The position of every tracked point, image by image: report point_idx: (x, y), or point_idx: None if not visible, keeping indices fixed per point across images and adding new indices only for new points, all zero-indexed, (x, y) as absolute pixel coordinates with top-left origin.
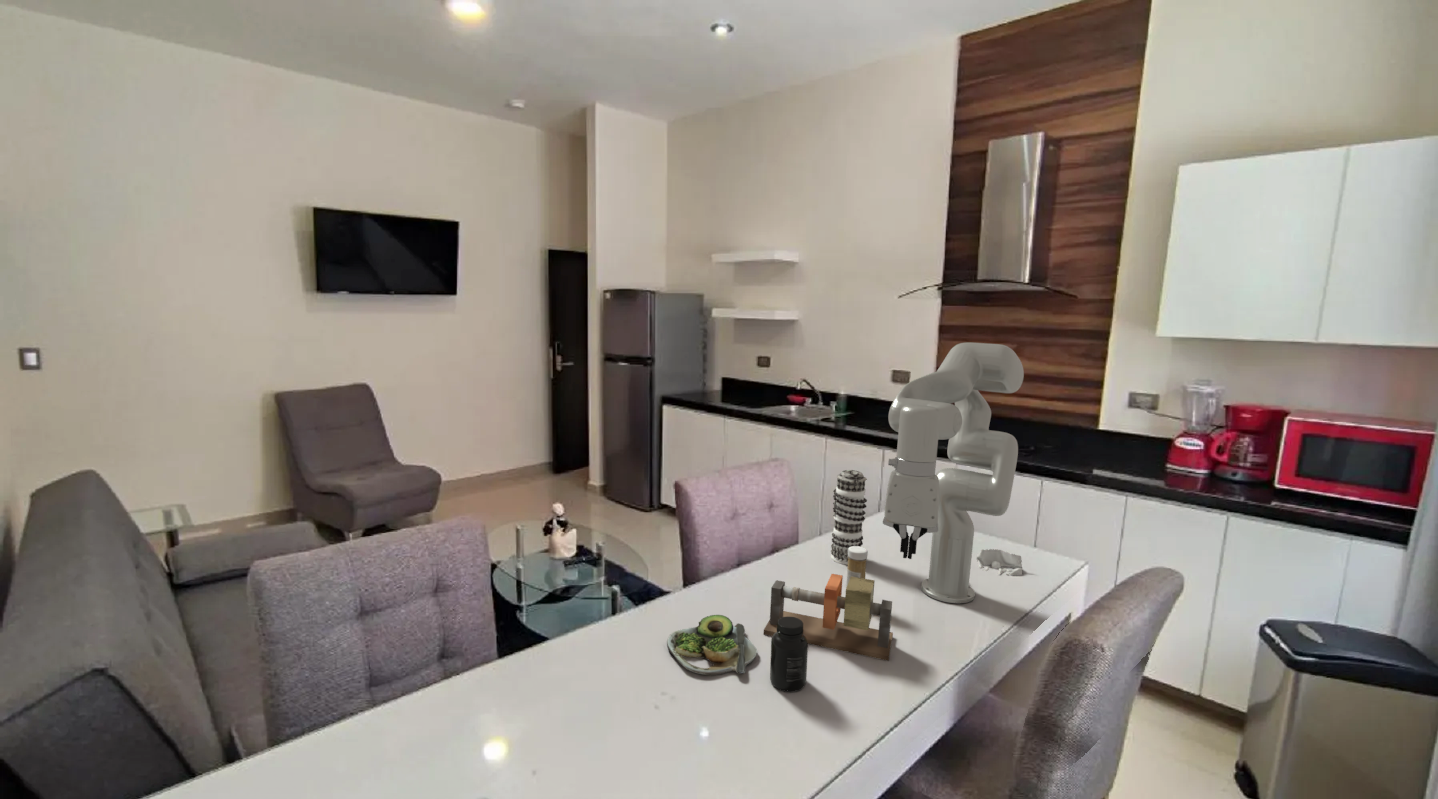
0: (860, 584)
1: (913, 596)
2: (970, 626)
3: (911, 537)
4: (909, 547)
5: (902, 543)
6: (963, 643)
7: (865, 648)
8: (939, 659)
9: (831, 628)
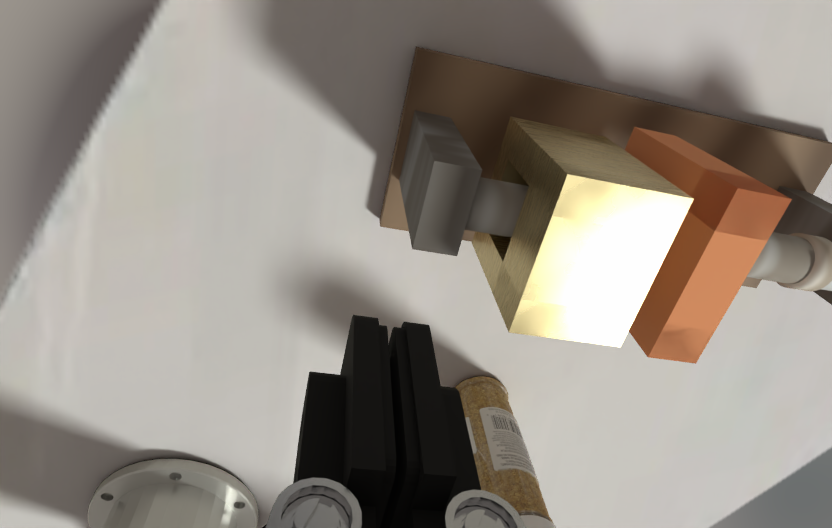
0: (595, 272)
1: (286, 468)
2: (103, 343)
3: (365, 523)
4: (382, 398)
5: (455, 451)
6: (126, 231)
7: (499, 90)
8: (218, 99)
9: (644, 130)
